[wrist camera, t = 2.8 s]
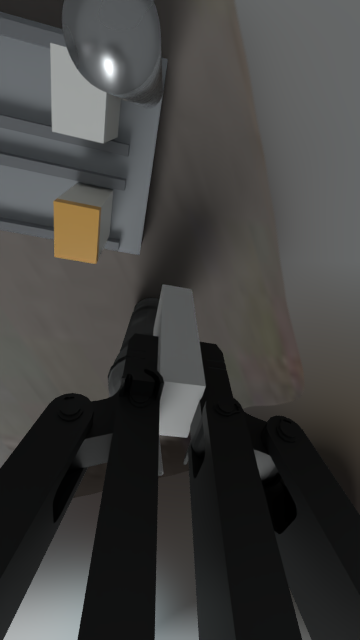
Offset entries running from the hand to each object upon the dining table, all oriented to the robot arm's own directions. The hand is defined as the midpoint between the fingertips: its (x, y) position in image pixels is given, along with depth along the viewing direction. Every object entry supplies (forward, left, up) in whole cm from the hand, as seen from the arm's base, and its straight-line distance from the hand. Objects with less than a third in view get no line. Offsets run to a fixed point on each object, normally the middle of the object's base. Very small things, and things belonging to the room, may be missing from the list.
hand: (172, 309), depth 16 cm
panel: (-12, +4, -18) cm, 22 cm away
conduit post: (-3, +9, -15) cm, 18 cm away
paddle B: (-7, +8, -15) cm, 18 cm away
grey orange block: (-7, 0, -15) cm, 16 cm away
